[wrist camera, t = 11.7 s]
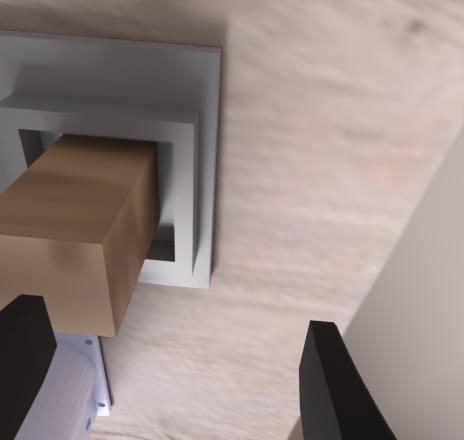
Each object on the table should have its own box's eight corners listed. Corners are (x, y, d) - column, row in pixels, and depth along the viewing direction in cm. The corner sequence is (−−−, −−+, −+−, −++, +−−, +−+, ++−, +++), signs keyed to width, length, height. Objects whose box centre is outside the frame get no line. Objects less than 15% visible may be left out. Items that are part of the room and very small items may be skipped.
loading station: (211, 276, 23) (205, 309, 21) (-106, 246, 23) (-143, 276, 21) (221, 47, 16) (214, 63, 14) (-229, 10, 16) (-300, 21, 14)
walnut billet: (160, 220, 20) (115, 337, 14) (77, 212, 20) (-1, 325, 14) (156, 142, 17) (102, 244, 12) (63, 134, 17) (-37, 231, 12)
